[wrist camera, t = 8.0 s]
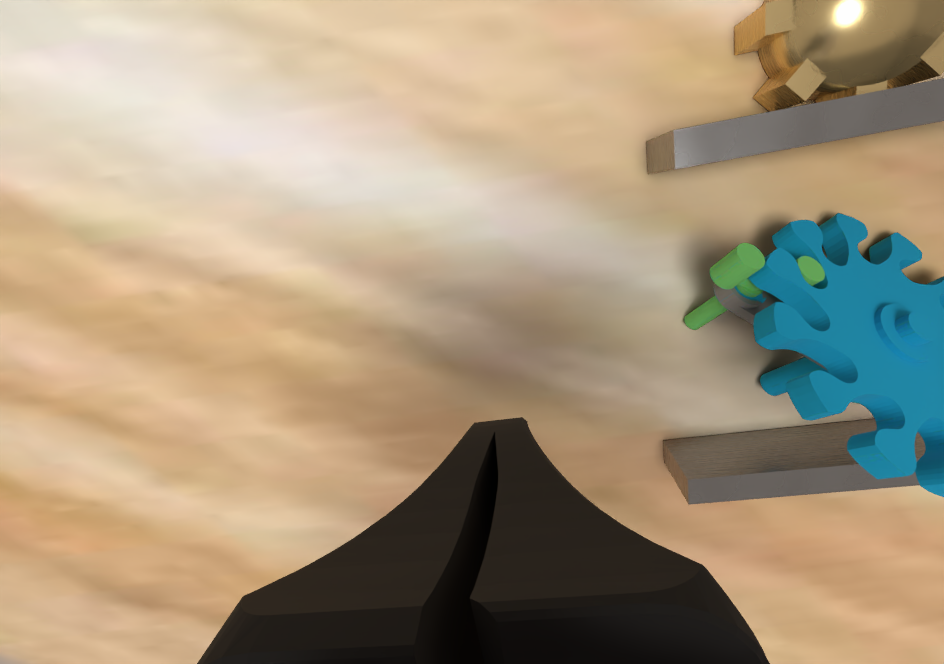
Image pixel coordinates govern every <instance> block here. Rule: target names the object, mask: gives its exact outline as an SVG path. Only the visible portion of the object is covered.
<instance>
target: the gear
mask: <svg viewBox="0 0 944 664" xmlns="http://www.w3.org/2000/svg"><path fill="white" fill-rule="evenodd" d="M867 235H868V232H867V229H866V226H865V225H864V224H863V223H862V222H860V221H858V220H856V219H854V218H852V217H849V216H846V215H843V214H840V213H838V214H836V215H835V216H833V217H832V218H830V219H829V220H827V221H826V222H825V223H823V224H822V225H820V226H819V227H818V225H817V224H816V223H815V222H813V221H809V220H798V221H794V222H790V223H789V224H788V225H786V226H785V227H784V228H782V229H781V230H780V231H778V232H777V233H776V234H774V235H773V236H772V240H773V243H774V245H775V246H776V248H777V249H776V250H774V251H773V252H771V253H770V254H769V255H767V256H766V257H764V256H763V254H762V253H761V251H760V250H759V249H758V248H756V247H755V246H753V245H751V244H749V243H742V244H740V245H738V246H737V247H736V248H735V249H733V250H732V251H731V252H729V253H728V254H727V255H726V256H724V257H723V258H722V259H721V260H719V261H718V262H717V263H716V264H714V265H713V266H712V267H711V268H710V277H711V279H712V280H713V282H714V293H715V296H713V297H712V298H710V299H709V300H708V301H706V302H705V303H703V304H702V305H701V306H699V307H698V308H696V309H695V310H693V311H692V312H691V313H689V314H688V315H686V316H685V319H684V320H685V323H686V325H687V326H688V327H689V328H690V329H693V330H697V329H699V328H700V327H702V326H703V325H705V324H706V323H708V322H710V321H711V320H713V319H714V318H716V317H717V316H719V315H721V314H722V313H724V312H725V311H727V310H729V311H731V312H732V313H734V314H736V315H737V316H739V317H741V318H742V319H744V320H745V321H747V322H749V323H750V324H752V325H753V326H754V335H755V341H756V342H757V343H758V344H759V345H760V346H762V347H764V348H766V349H769V350H777V349H789V350H793V351H796V352H798V353H799V354H801V355H803V356H804V358H801V359H799V360H796V361H794V362H792V363H789V364H787V365H784V366H782V367H780V368H777V369H775V370H772V371H770V372H768V373H765V374H763V375H762V376H761V378H760V383H761V386H762V388H763V389H764V390H765V391H766V392H767V393H768V394H770V395H773V396H777V395H780V394H782V393H785V392H788V394H789V396H790V399H791V400H792V402H793V404H794V406H795V408H796V409H797V411H798V412H799V414H800V415H801V417H802V418H803V419H806V420H816V419H819V418H823V417H827V416H831V415H835V414H838V413H842V412H843V411H844V410H845V409H846V407H847V406H848V404H849V403H850V402H854V403H859V404H862V405H863V406H865V407H866V408H867V409H868V410H869V411H870V412H871V413H872V415H873V416H874V418H875V421H876V425H877V428H876V430H875V431H871V432H866V433H861V434H857V435H853V436H851V437H850V438H849V440H848V442H847V451H848V452H849V453H850V455H851V456H852V457H853V458H854V459H855V461H856V462H857V463H858V464H859V465H860V466H862V467H863V468H864V469H865V470H866V471H867V472H869V473H870V474H871V475H873V476H874V477H875V478H876V479H886V478H895V477H904V476H909V475H912V474H913V473H914V472H915V473H916V477H917V480H918V482H919V484H920V486H921V487H923V488H924V489H926V490H927V491H929V492H932V493H934V494H936V495H939V496H942V497H944V276H943V277H941V278H939V279H937V280H935V281H932V282H930V283H928V284H926V285H925V284H918V283H915V282H912V281H911V280H909V279H908V278H907V277H906V276H905V275H904V274H903V273H902V271H901V269H903V268H905V267H907V266H909V265H911V264H913V263H915V262H917V261H919V260H921V258H922V252H921V251H920V250H919V249H918V248H917V247H916V246H915V245H914V244H913V243H912V242H910V241H909V240H908V239H906V238H905V237H903V236H902V235H901V234H899V233H898V232H897V233H893V234H892V235H890V236H888V237H887V238H885V239H883V240H881V241H880V242H878V243H876V244H874V245H873V246H871V247H870V249H869V254H870V262H868V261H867V260H866V259H864V258H863V257H862V256H861V254H860V253H859V251H858V247H857V246H858V243H859V242H861V241H862V240H864V239H865V238H866V237H867ZM822 245H823V247H824V249H825V252H826V255H827V258H826V257H825V255H824V253H823V251H822ZM917 431H918V433H919V434H920V435H921V437H922V438H923V441H924V443H925V449H926V450H925V453H924V455H923V456H922V457H921V458H920V459H919V460H918V461H917V462H916V456H915V444H914V443H915V437H916V434H917Z"/></svg>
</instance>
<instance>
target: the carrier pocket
mask: <svg viewBox="0 0 944 664" xmlns="http://www.w3.org/2000/svg"><path fill="white" fill-rule="evenodd" d="M734 40H735V55H738V54H743V53H748V52H752V51H757V50H758V53H759V58H760V61H761V63H762V66H763V68H764V70H765V72H766V74H767V75H768V76H769V79H768V80H767V81H766V82H765V84H764V85H763V86H762V87H761V88H760V90H759V91H758V92H757V93H756V94H755V96H754V97H753V98H754V99H755V100H756V101H757V102H759V103H760V104H761V105H762V106H763V107H765V108H766V109H767V110H768V111H769V112H766V113H761V114H756V115H750V116H745V117H740V118H735V119H729V120H724V121H719V122H714V123H709V124H703V125H698V126H693V127H688V128H682V129H677V130H673V131H670V132H668V133H666V134H663V135H661V136H659V137H656V138H654V139H651V140H649V141H647V142H646V150H647V168H648V174H651V173H657V172H663V171H668V170H674V169H679V168H685V167H691V166H696V165H702V164H707V163H713V162H718V161H724V160H729V159H735V158H740V157H746V156H752V155H757V154H763V153H768V152H774V151H779V150H785V149H790V148H796V147H801V146H807V145H813V144H818V143H824V142H829V141H835V140H840V139H846V138H851V137H857V136H862V135H868V134H874V133H879V132H885V131H890V130H896V129H901V128H907V127H912V126H918V125H923V124H929V123H935V122H940V121H944V78H943V79H938V80H933V81H928V82H923V83H917V84H912V83H916V82H919V81H923V80H926V79H930V78H933V77H937V76H940V75H941V74H942V73H943V72H944V0H764V3H763V5H762V6H761V7H760V8H759V9H757V10H756V11H755V12H753V13H752V14H751V15H749V16H748V17H747V18H746V19H744V20H743V21H742V22H740V23H739V24H738V25H736V26H735V27H734ZM909 84H912V85H909ZM905 85H907V86H905ZM807 99H816V102H815V103H813V104H808V105H803V106H797V107H792V108H787V107H790V106H793V105H796V104H799V103H802V102H805V101H806V100H807ZM784 108H787V109H784ZM781 109H782V110H781ZM876 428H877V425H876V421H875V419H867V420H858V421H848V422H838V423H828V424H819V425H809V426H799V427H790V428H780V429H770V430H760V431H751V432H741V433H731V434H722V435H712V436H702V437H692V438H683V439H673V440H663V448H664V463H665V465H666V466H667V468H668V470H669V471H670V473H671V475H672V477H673V478H674V480H675V482H676V483H677V485H678V487H679V489H680V490H681V492H682V494H683V495H684V497H685V499H686V501H687V502H688V504H700V503H712V502H724V501H736V500H748V499H760V498H772V497H784V496H796V495H808V494H819V493H831V492H843V491H855V490H867V489H879V488H891V487H903V486H915V485H920V484H919V482H918V480H917V477H916V473H915V472H914V473H913V474H912V475H909V476H904V477H895V478H886V479H876V478H875V477H874V476H873V475H871V474H870V473H869V472H867V471H866V470H865V469H864V468H863V467H862V466H860V465H859V464H858V463H857V462H856V461H855V459H854V458H853V457H852V456H851V455H850V453H849V452H848V451H847V442H848V440H849V438H850V437H851V436H853V435H857V434H861V433H866V432H871V431H875V430H876ZM914 444H915V456H916V462H917V461H918V460H919V459H920V458H921V457H922V456H923V455H924V453H925V450H926V449H925V443H924V441H923V438H922V437H921V435H920V434H919V433H918V431H917V434H916V437H915V443H914Z"/></svg>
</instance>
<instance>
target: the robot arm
mask: <svg viewBox="0 0 944 664" xmlns="http://www.w3.org/2000/svg"><path fill="white" fill-rule="evenodd" d="M197 664H770V663H769V661H768V660H767V658H766V656H765V654H764V651H763V649H762V647H761V646H760V644H759V642H758V640H757V638H756V637H755V635H754V633H753V632H752V630H751V629H750V627H749V626H748V624H747V623H746V621H745V619H744V618H743V617H742V615H741V614H740V612H739V611H738V610H737V608H736V607H735V605H734V604H733V603H732V601H731V600H730V599H729V597H728V596H727V594H726V593H725V592H724V591H723V589H722V588H721V587H720V585H719V584H718V583H717V582H716V580H715V579H714V578H713V576H712V575H711V574H710V573H709V571H708V570H707V569H706V568H705V567H704V566H703V565H702V564H699V563H697V562H695V561H693V560H691V559H688V558H686V557H684V556H682V555H680V554H677V553H675V552H673V551H671V550H669V549H666V548H664V547H662V546H660V545H658V544H656V543H654V542H652V541H650V540H648V539H646V538H644V537H643V536H641V535H639V534H637V533H636V532H634V531H632V530H630V529H628V528H627V527H625V526H624V525H622V524H620V523H619V522H617V521H616V520H615V519H613V518H612V517H610V516H609V515H607V514H606V513H604V512H603V511H602V510H600V509H599V508H598V507H596V506H595V505H594V504H593V503H591V502H590V501H589V500H588V499H586V498H585V497H584V496H583V495H582V494H581V493H580V492H579V491H578V490H576V489H575V488H574V487H573V486H572V485H571V484H570V483H569V482H568V481H567V480H566V479H565V478H564V477H563V475H562V474H561V473H560V472H559V471H558V470H557V469H556V468H555V466H554V465H553V464H552V463H551V462H550V460H549V459H548V458H547V456H546V455H545V454H544V452H543V451H542V450H541V448H540V447H539V445H538V444H537V442H536V441H535V439H534V437H533V435H532V434H531V432H530V430H529V427H528V424H527V421H526V420H525V419H523V418H522V417H521V418H513V419H504V420H495V421H487V422H478V423H474V424H473V425H472V426H471V428H470V429H469V430H468V431H467V432H466V434H465V435H464V436H463V438H462V439H461V440H460V441H459V443H458V444H457V445H456V446H455V448H454V449H453V450H452V451H451V453H450V454H449V455H448V456H447V457H446V459H445V460H444V461H443V462H442V463H441V465H440V466H439V467H438V468H437V469H436V470H435V471H434V472H433V473H432V474H431V475H430V476H429V477H428V478H427V479H426V480H425V481H424V482H423V484H422V485H421V486H420V487H418V488H417V489H416V490H415V491H414V492H413V493H412V494H411V495H410V496H409V497H408V498H406V499H405V500H404V501H403V502H402V503H400V504H399V505H398V506H397V507H396V508H395V509H393V510H392V511H391V512H390V513H388V514H387V515H386V516H384V517H383V518H381V519H380V520H379V521H377V522H376V523H374V524H373V525H372V526H370V527H369V528H367V529H366V530H365V531H363V532H362V533H360V534H359V535H358V536H356V537H355V538H353V539H352V540H350V541H348V542H347V543H345V544H344V545H342V546H340V547H339V548H337V549H335V550H334V551H332V552H330V553H329V554H327V555H325V556H323V557H322V558H320V559H318V560H316V561H315V562H313V563H311V564H309V565H307V566H305V567H303V568H302V569H300V570H298V571H296V572H294V573H291V574H289V575H287V576H285V577H283V578H281V579H279V580H277V581H275V582H273V583H271V584H269V585H267V586H264V587H262V588H260V589H258V590H256V591H254V592H252V593H249V594H247V595H245V596H243V597H242V599H241V600H240V602H239V603H238V604H237V606H236V607H235V609H234V610H233V612H232V613H231V615H230V616H229V618H228V619H227V620H226V622H225V623H224V625H223V626H222V628H221V629H220V631H219V632H218V634H217V635H216V637H215V638H214V640H213V641H212V643H211V644H210V646H209V647H208V648H207V650H206V651H205V653H204V654H203V656H202V657H201V659H200V660H199V662H198V663H197Z"/></svg>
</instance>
